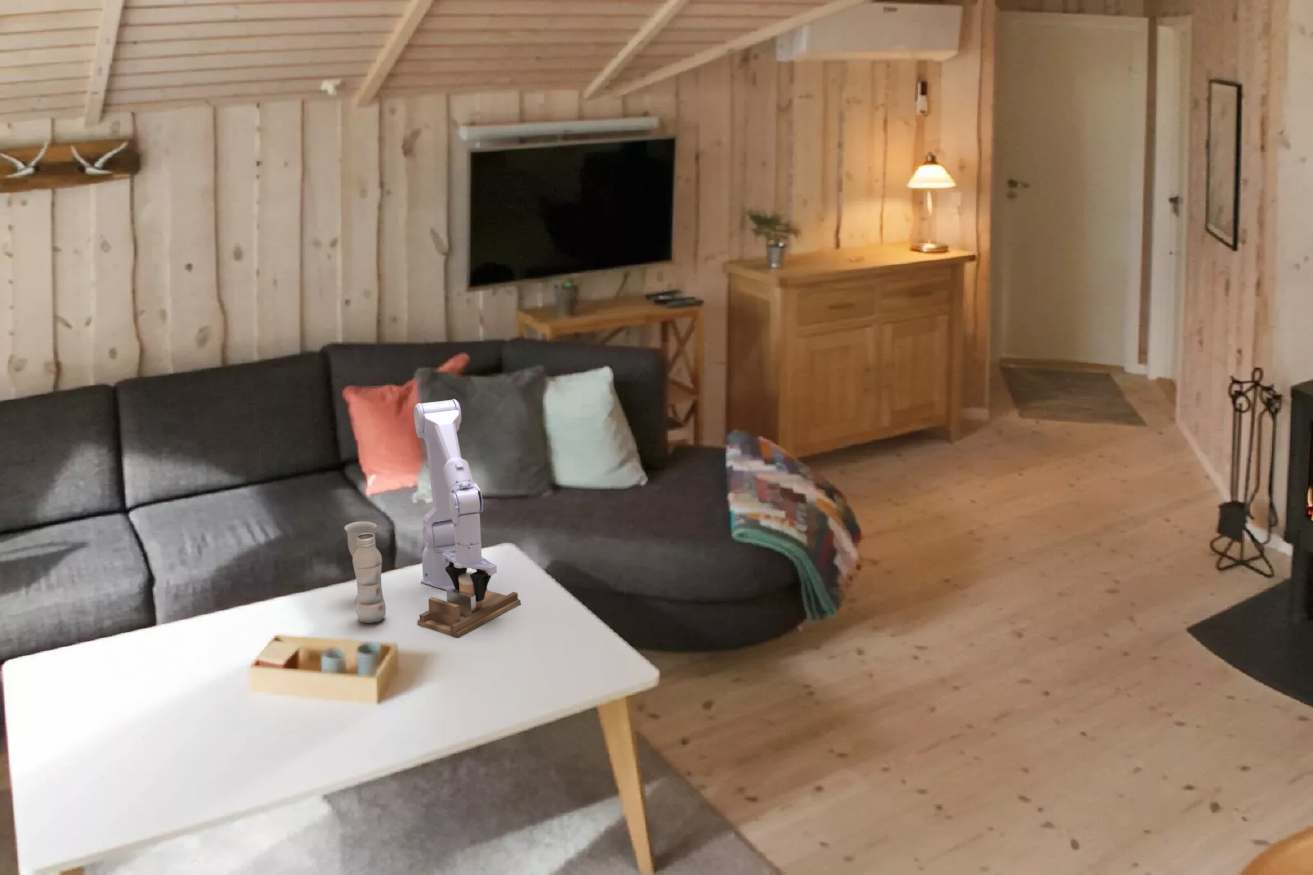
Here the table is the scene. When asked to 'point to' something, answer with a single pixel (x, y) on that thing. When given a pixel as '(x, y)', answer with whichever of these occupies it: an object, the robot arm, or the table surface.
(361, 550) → the plastic bottle
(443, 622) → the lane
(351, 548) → the chalice
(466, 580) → the jar
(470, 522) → the robot arm
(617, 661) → the table surface
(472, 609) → the plate
